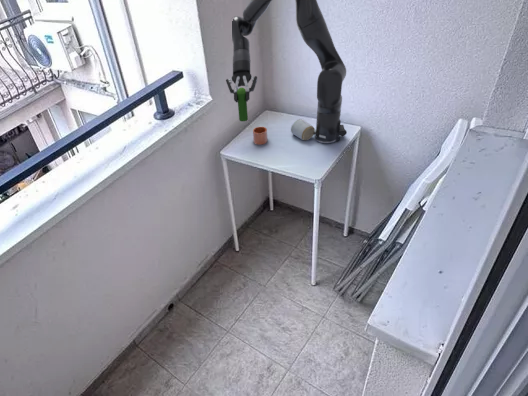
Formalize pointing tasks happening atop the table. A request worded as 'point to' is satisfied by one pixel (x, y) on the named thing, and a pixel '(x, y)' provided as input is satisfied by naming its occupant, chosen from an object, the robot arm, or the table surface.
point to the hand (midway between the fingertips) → (241, 101)
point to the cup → (260, 135)
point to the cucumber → (242, 104)
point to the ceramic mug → (302, 129)
